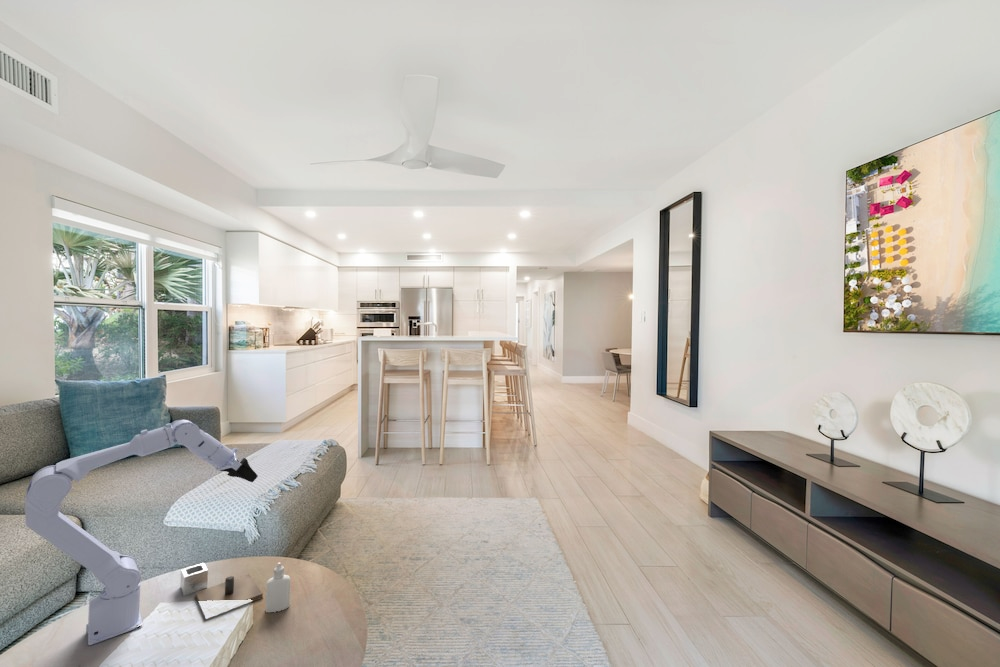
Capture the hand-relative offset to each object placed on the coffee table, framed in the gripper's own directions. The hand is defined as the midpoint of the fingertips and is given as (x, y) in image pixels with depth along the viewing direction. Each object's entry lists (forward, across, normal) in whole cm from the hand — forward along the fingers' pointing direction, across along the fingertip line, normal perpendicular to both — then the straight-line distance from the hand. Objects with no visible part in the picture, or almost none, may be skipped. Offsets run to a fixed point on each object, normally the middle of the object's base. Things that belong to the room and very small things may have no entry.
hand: (249, 476), depth 122 cm
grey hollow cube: (+13, +9, +29) cm, 33 cm away
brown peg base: (+17, -4, +26) cm, 32 cm away
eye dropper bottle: (+23, -18, +22) cm, 37 cm away
